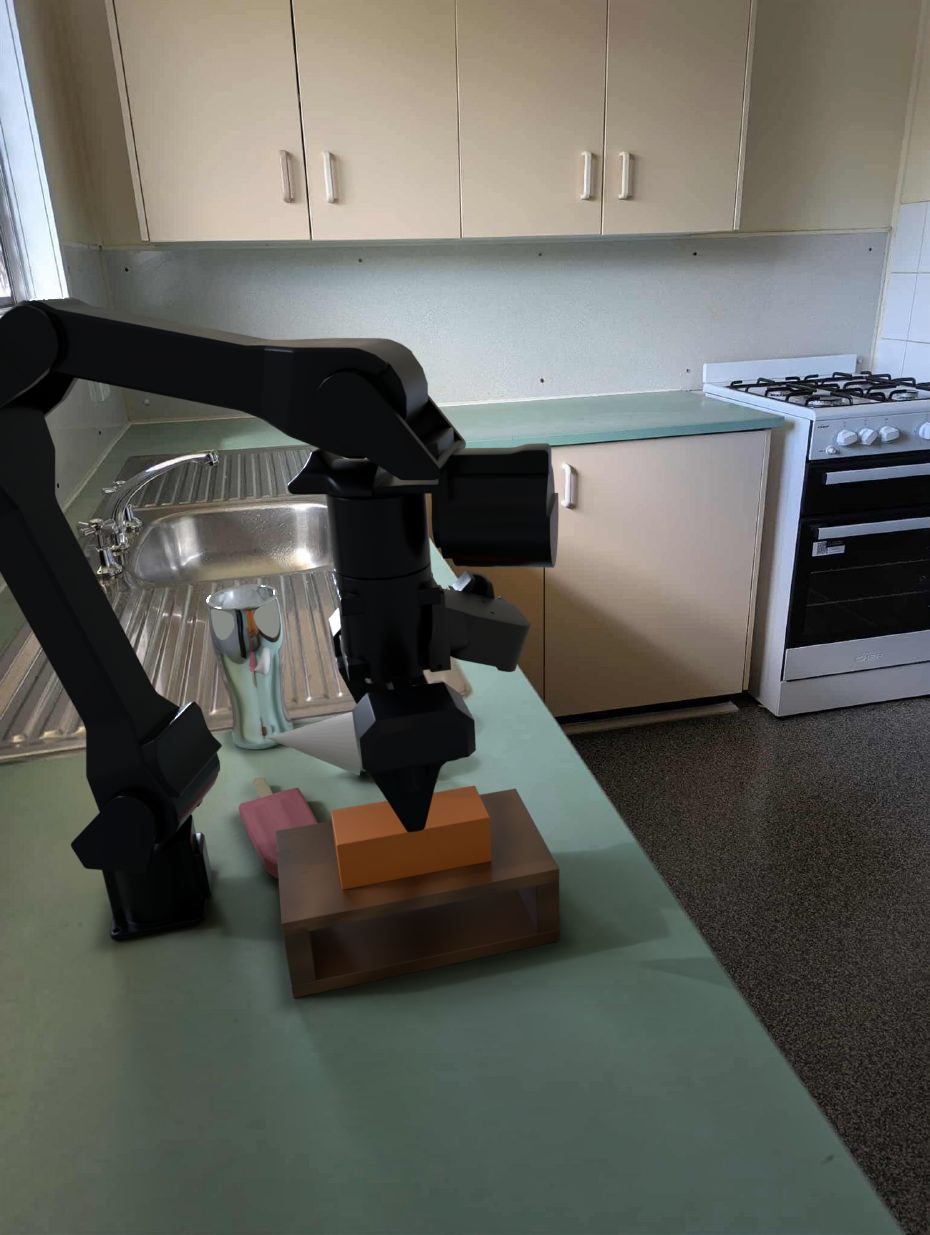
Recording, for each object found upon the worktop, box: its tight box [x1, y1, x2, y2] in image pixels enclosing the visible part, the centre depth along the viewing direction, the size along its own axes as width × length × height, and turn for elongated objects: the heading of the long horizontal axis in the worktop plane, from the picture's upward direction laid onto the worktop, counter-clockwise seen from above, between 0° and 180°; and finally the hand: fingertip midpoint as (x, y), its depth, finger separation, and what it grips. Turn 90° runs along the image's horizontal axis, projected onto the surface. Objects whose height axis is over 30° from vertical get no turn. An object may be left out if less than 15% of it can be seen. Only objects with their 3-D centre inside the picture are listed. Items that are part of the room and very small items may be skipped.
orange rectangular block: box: [330, 785, 492, 890], centre depth 58 cm, size 10×4×4 cm, turn 104°
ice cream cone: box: [267, 711, 366, 776], centre depth 80 cm, size 6×6×15 cm
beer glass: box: [206, 583, 295, 750], centre depth 86 cm, size 7×7×15 cm
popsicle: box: [238, 776, 319, 880], centre depth 73 cm, size 5×2×15 cm
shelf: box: [275, 788, 561, 999], centre depth 61 cm, size 18×10×6 cm, turn 104°
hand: (402, 789), depth 57 cm, fingers open, 9 cm apart
